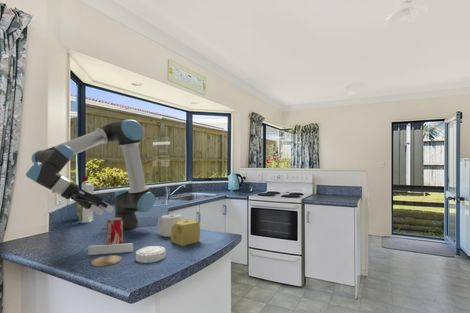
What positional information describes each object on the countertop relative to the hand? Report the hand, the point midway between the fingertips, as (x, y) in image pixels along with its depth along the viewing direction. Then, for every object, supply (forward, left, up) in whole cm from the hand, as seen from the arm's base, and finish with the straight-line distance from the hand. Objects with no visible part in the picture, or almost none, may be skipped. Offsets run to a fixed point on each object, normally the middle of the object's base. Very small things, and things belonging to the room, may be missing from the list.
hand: (107, 212), depth 129 cm
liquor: (-7, -81, -16) cm, 83 cm away
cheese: (-30, +20, -16) cm, 40 cm away
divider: (+2, +12, -16) cm, 20 cm away
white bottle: (-5, -66, -17) cm, 68 cm away
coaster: (+7, +21, -16) cm, 28 cm away
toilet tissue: (-31, +2, -16) cm, 35 cm away
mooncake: (-8, +29, -17) cm, 35 cm away
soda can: (-2, +2, -16) cm, 17 cm away
